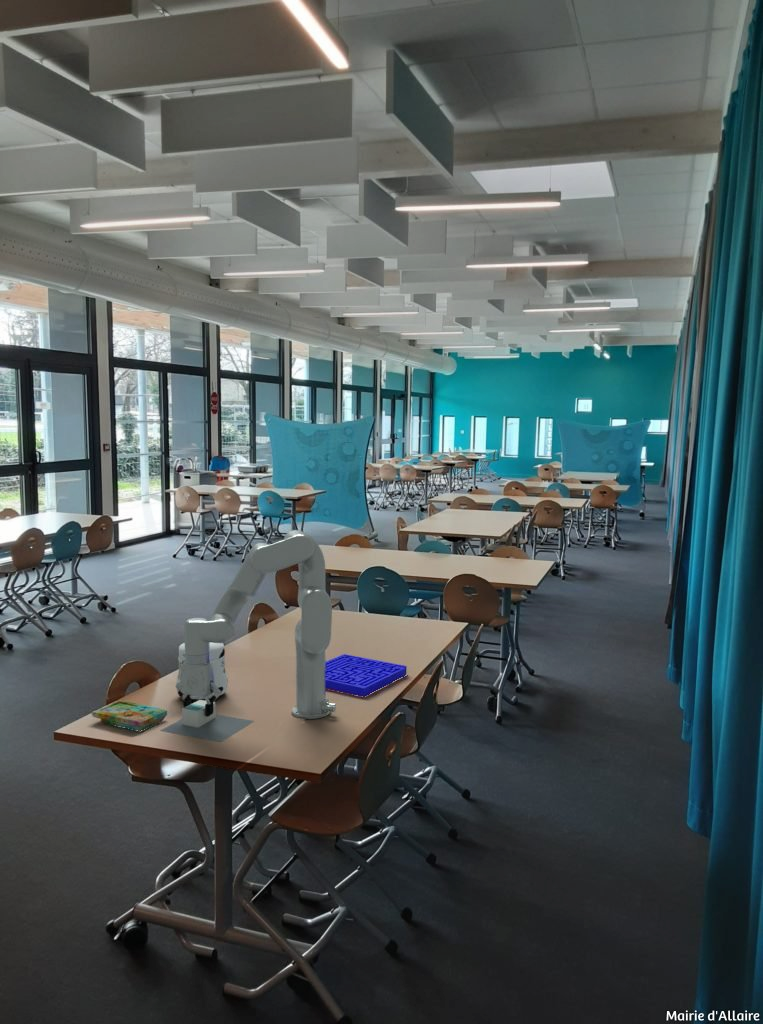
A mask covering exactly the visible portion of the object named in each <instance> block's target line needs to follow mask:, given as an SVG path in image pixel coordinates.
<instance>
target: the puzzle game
mask: <svg viewBox="0 0 763 1024" xmlns="http://www.w3.org/2000/svg"><path fill="white" fill-rule="evenodd" d="M167 715H168V710H167V709H165V708H160V707H154V706H151V705H145V704H141V703H140V704H139V703H134V702H130V701H125V700H118V701H115V702H113V703H111V704H108V705H105V706H103V707H100V708H99V709H95V710H94V711H92V712H91V716H92V717H93V718H96V719H100V720H101V722H102V723H103V724H104V723H106V724H105V725H108V724H110V725H109V726H112V725H116V726H121V727H125V728H129V729H133V730H138V731H141V730H144V729H146V728H148V727H150V726H152V727H154V726H156V725H155V724H157V723H159V722H161V723H162V722H163V721H164V719H166V717H167ZM159 724H160V723H159ZM153 725H154V726H153ZM157 725H158V724H157ZM116 726H115V727H116ZM121 727H120V728H121ZM125 728H124V729H125ZM150 728H151V727H150ZM129 729H128V730H129ZM148 729H149V728H148ZM133 730H132V731H133ZM146 730H147V729H146ZM138 731H137V732H138ZM144 731H145V730H144Z"/></svg>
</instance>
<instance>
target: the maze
mask: <svg viewBox="0 0 763 1024" xmlns="http://www.w3.org/2000/svg"><path fill="white" fill-rule="evenodd" d="M325 671H326V690H327V689H330V690H329V691H331V690H334V691H333V692H335V691H339V692H338V693H340V692H343V693H342V694H344V693H349V694H353V695H358V696H363V697H365V696H367V695H369V694H370V693H372V692H374V691H376V690H378V689H380V688H382V687H384V686H386V685H388V684H390V683H392V682H393V681H395V680H397V679H399V678H401V677H404V676H405V675H406V674H407V665H404V664H398V663H392V662H388V661H382V660H377V659H371V658H366V657H361V656H356V655H351V654H347V653H344V654H341V655H339V656H336V657H334V658H331V659H328V660H326V666H325ZM349 694H348V695H349ZM353 695H352V696H353ZM369 696H370V695H369ZM367 697H368V696H367ZM365 698H366V697H365Z"/></svg>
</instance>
